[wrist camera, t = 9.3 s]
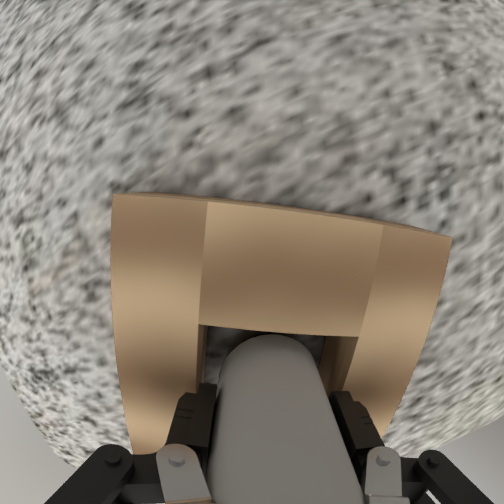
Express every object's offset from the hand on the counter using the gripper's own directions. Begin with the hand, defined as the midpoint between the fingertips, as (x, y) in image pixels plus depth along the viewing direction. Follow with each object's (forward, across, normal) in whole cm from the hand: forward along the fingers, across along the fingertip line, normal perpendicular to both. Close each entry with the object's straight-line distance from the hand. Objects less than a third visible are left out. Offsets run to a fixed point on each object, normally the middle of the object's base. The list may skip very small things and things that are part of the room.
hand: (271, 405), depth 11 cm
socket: (+5, 0, 0) cm, 5 cm away
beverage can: (+3, 0, 0) cm, 3 cm away
